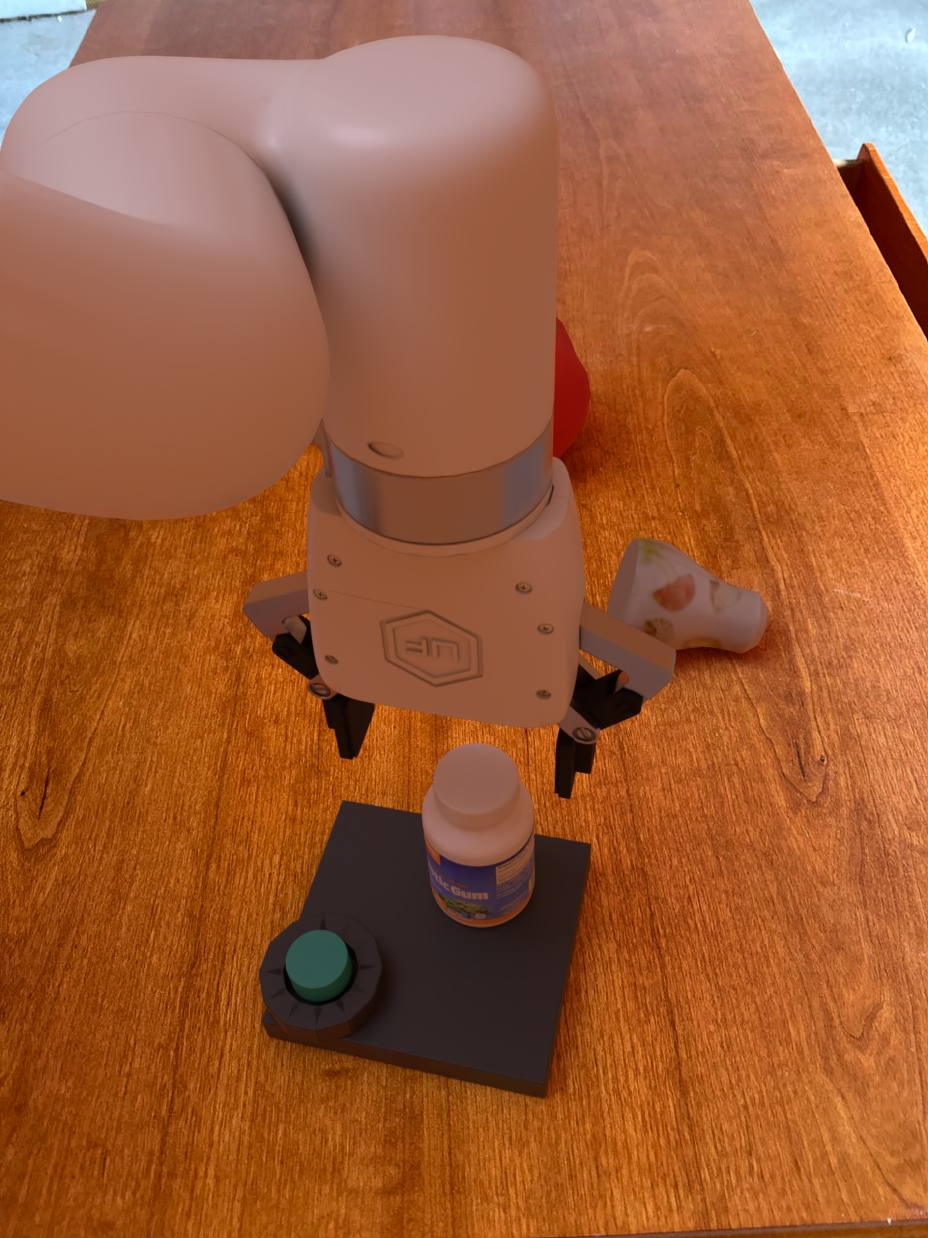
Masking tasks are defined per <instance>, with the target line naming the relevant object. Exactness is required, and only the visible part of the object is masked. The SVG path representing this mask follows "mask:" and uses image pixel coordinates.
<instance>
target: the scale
mask: <svg viewBox="0 0 928 1238" xmlns="http://www.w3.org/2000/svg"><path fill="white" fill-rule="evenodd" d="M591 860H592V844H591V843H589V842H583V841H578V840H574V839H568V838H562V837H556V836H549V835H544V834H538V833H534V863H535V882H534V888H533V891H532V894H531V897H530V899H529V901H528V903H527V904H526V906H525V907H524V908H523V910H522V911H521V912H520V913H519V914H517V915H516V916H515V917H513V918H512V919H510V920H508V921H507V922H504V923H502V924H499V925H496V926H492V927H472V926H467V925H464V924H461V923H459V922H457V921H455V920H453V919H452V918H451V917H449V916H448V915H447V914H446V913H445V912H444V911H443V910H442V909H441V908H440V906H439V905H438V903H437V901H436V899H435V897H434V894H433V891H432V886H431V881H430V873H429V865H428V858H427V851H426V844H425V837H424V830H423V822H422V813H419V812H414V811H409V810H403V809H397V808H392V807H385V806H380V805H375V804H374V805H373V804H369V803H363V802H357V801H351V800H345V799H343V800H341V804H340V807H339V809H338V812H337V814H336V817H335V820H334V823H333V824H332V828H331V831H330V834H329V836H328V839H327V841H326V844H325V847H324V850H323V852H322V855H321V858H320V860H319V863H318V866H317V868H316V871H315V874H314V877H313V879H312V882H311V885H310V888H309V890H308V893H307V895H306V898H305V900H304V904H303V906H302V909H301V912H300V914H299V916H298V917H299V918H298V919H297V920H295V921H292V922H291V923H290V924H288V925H287V926H286V927H285V928H284V929H283V930H282V931H281V932H280V933H278V935H276V936H275V937H274V938H273V939H272V940H271V941H270V942H269V943H268V946H267V949H266V951H265V954H264V957H263V959H262V962H261V964H260V967H259V969H258V974H257V975H258V980H259V985H260V992H261V998H262V1003H263V1004H264V1007H265V1009H264V1012H263V1015H262V1018H261V1024H262V1027H263V1029H264V1030H265V1033H266V1035H267V1037H268V1038H270V1039H271V1038H272V1039H276V1040H280V1041H285V1042H289V1043H293V1044H299V1045H303V1046H309V1047H313V1048H317V1049H321V1050H325V1051H330V1052H334V1053H339V1054H344V1055H348V1056H351V1057H356V1058H361V1059H365V1060H369V1061H373V1062H374V1061H375V1062H379V1063H383V1064H388V1065H391V1066H397V1067H401V1068H405V1069H410V1070H414V1071H418V1072H423V1073H426V1074H427V1073H428V1074H431V1075H432V1074H433V1075H437V1076H441V1077H445V1078H451V1079H454V1080H457V1081H458V1080H459V1081H463V1082H468V1083H472V1084H477V1085H481V1086H486V1087H491V1088H494V1089H498V1090H499V1089H500V1090H503V1091H507V1092H512V1093H516V1094H522V1095H524V1096H525V1095H526V1096H531V1097H535V1098H538V1099H543V1100H544V1099H546V1096H547V1092H548V1086H549V1081H550V1075H551V1070H552V1065H553V1061H554V1055H555V1050H556V1046H557V1045H556V1044H557V1040H558V1039H557V1038H558V1033H559V1029H560V1023H561V1019H562V1013H563V1007H564V1002H565V997H566V992H567V989H568V982H569V977H570V972H571V966H572V962H573V956H574V950H575V945H576V941H577V935H578V930H579V925H580V919H581V914H582V909H583V904H584V903H583V902H584V900H585V894H586V887H587V883H588V877H589V872H590V867H591V862H592V861H591ZM314 930H327V931H330V932H333V933H335V934H336V935H338V936H339V937H340V938H341V939H342V940H343V941H344V943H345V945H346V947H347V950H348V953H349V957H350V960H351V964H352V975H351V979H350V981H349V983H348V985H347V986H346V988H345V989H344V990H343V991H342V992H341V993H340V994H339V995H337V996H336V997H334V998H332V999H330V1000H327V1001H322V1002H314V1001H309V1000H307V999H304V998H303V997H301V996H300V995H299V994H298V993H297V992H296V991H295V989H294V988H293V986H292V983H291V981H290V978H289V976H288V973H287V970H286V956H287V953H288V950H289V948H290V947H291V945H292V944H293V942H294V941H295V940H296V939H297V938H299V937H300V936H302V935H303V934H305V933H307V932H310V931H314Z"/></svg>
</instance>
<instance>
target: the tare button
mask: <svg viewBox="0 0 928 1238" xmlns="http://www.w3.org/2000/svg"><path fill="white" fill-rule="evenodd" d="M286 970H287V973H288V976H289V978H290V981H291V983H292V986H293V988H294V989H295V991H296V992H297V993H298V994H299V995H300V996H301V997H303V998H304V999H307V1000H309V1001H314V1002H322V1001H327V1000H330V999H332V998H334V997H336V996H337V995H339V994H340V993H341V992H342V991H343V990H344V989H345V988H346V986H347V985H348V983H349V981H350V979H351V975H352V964H351V960H350V957H349V953H348V950H347V947H346V945H345V943H344V941H343V940H342V939H341V938H340V937H339V936H338V935H336V934H335V933H333V932H330V931H327V930H314V931H310V932H307V933H305V934H303V935H302V936H300V937H299V938H297V939H296V940H295V941H294V942H293V944H292V945H291V947H290V948H289V950H288V953H287V956H286Z"/></svg>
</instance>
